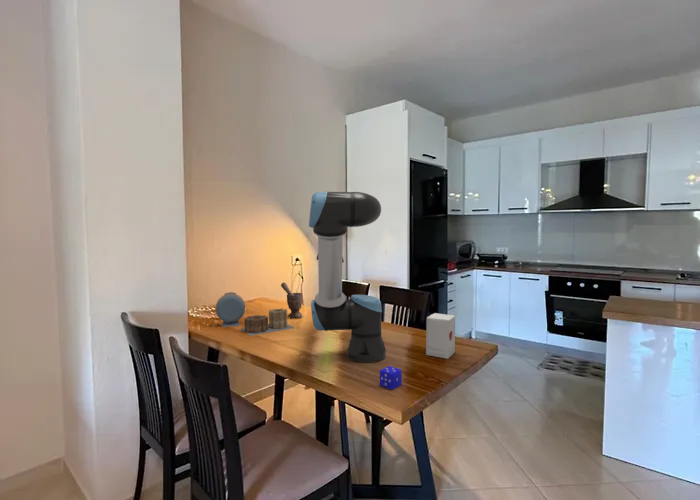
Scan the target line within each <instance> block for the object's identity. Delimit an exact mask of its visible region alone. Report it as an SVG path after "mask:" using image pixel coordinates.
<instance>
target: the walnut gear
mask: <svg viewBox="0 0 700 500" xmlns="http://www.w3.org/2000/svg"><path fill="white" fill-rule="evenodd" d="M243 323H244V328H245V331H247V333H254V334H255V333H261V332H266V330H268V324H269V316H266V315H265V314H264V315H259V314H255V315H249V316H246V317H244V322H243ZM247 333H246V334H247Z"/></svg>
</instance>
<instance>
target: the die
mask: <svg viewBox="0 0 700 500" xmlns="http://www.w3.org/2000/svg"><path fill="white" fill-rule="evenodd" d="M402 372H403V371H402V369H401V368H397V367H393V366H391V365H389V366H386V367H384V368H382V369H380V370H379V386H380V387H383V388H386V389H388V390H391V391H392V390H395V389H397V388H398V387H400V386H402V384H403V383H402V377H403V376H402Z"/></svg>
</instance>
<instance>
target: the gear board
mask: <svg viewBox="0 0 700 500" xmlns="http://www.w3.org/2000/svg"><path fill="white" fill-rule="evenodd" d="M292 329H295V327H293V326H291V325H290V324H288V323H287V327H284V328H283V329H274V328H269V323H268V330H266V332H261V333H255V334H254V333H247V331H245V327H243V328H240V331H243V332H244V333H245V334H247V335H248V336H251V337H253V336H257V335H263V334H268V333H274V332H280V331H286V330H292Z"/></svg>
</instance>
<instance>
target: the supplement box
mask: <svg viewBox="0 0 700 500" xmlns="http://www.w3.org/2000/svg"><path fill="white" fill-rule="evenodd" d="M425 326H426V331H425V332H426V333H425V334H426V336H425V338H426V339H425V340H426V341H425V345H426V346H425V356H431V357H436V358H440V359H445V360H446V359H447V360H448V359H449V358H451V356H453V354H455V348H456V340H455V339H456V316H455V315H452V314H444V313H437V312H434V313H432V314H430V315H429V316H426V325H425Z"/></svg>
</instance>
